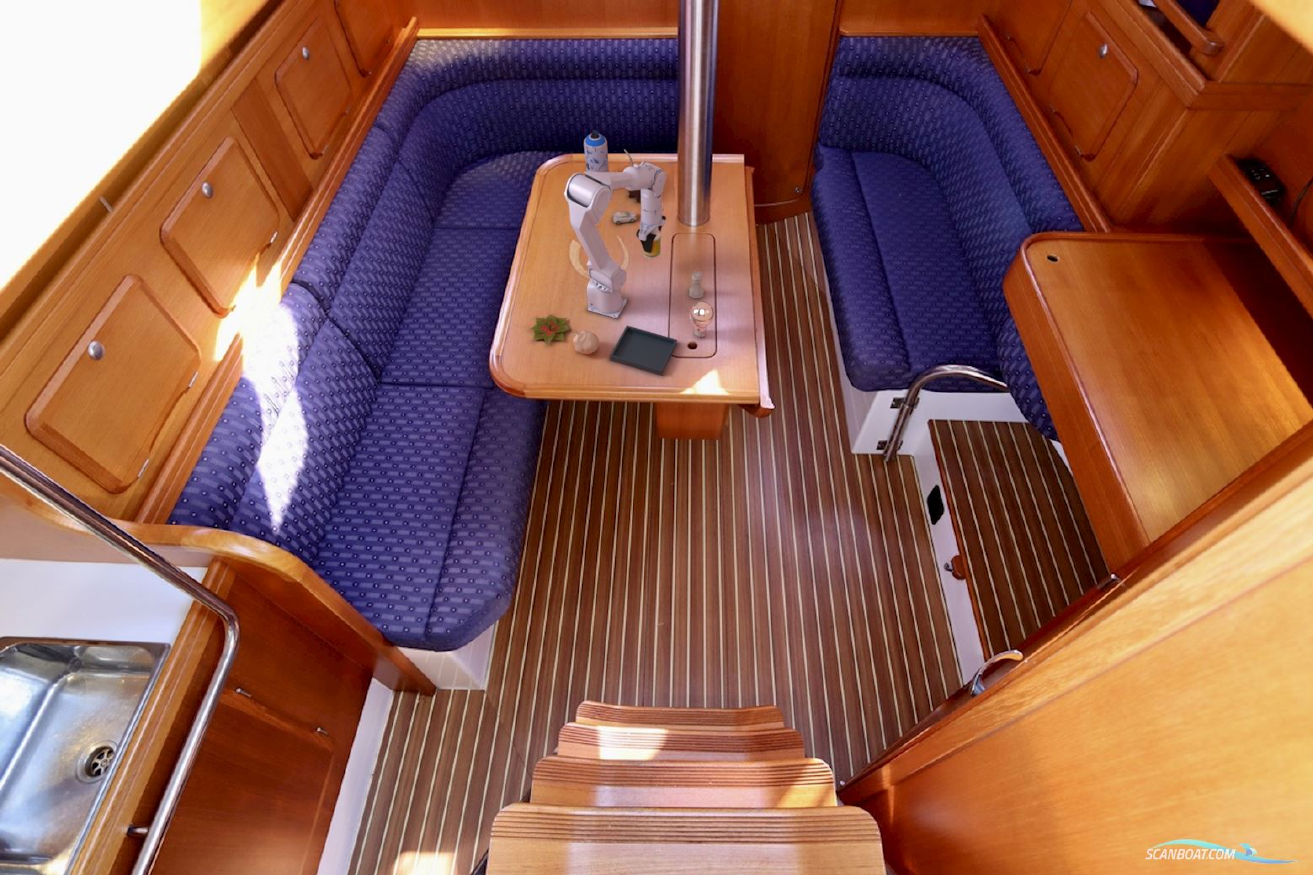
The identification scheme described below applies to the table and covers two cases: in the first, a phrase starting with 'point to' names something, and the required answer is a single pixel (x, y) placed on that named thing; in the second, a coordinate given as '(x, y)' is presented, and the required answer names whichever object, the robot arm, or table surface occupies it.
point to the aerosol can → (596, 152)
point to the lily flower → (549, 328)
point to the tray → (643, 350)
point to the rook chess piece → (696, 285)
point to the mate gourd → (635, 192)
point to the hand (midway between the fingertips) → (651, 245)
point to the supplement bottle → (654, 245)
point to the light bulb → (701, 317)
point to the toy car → (624, 217)
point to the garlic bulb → (585, 342)
